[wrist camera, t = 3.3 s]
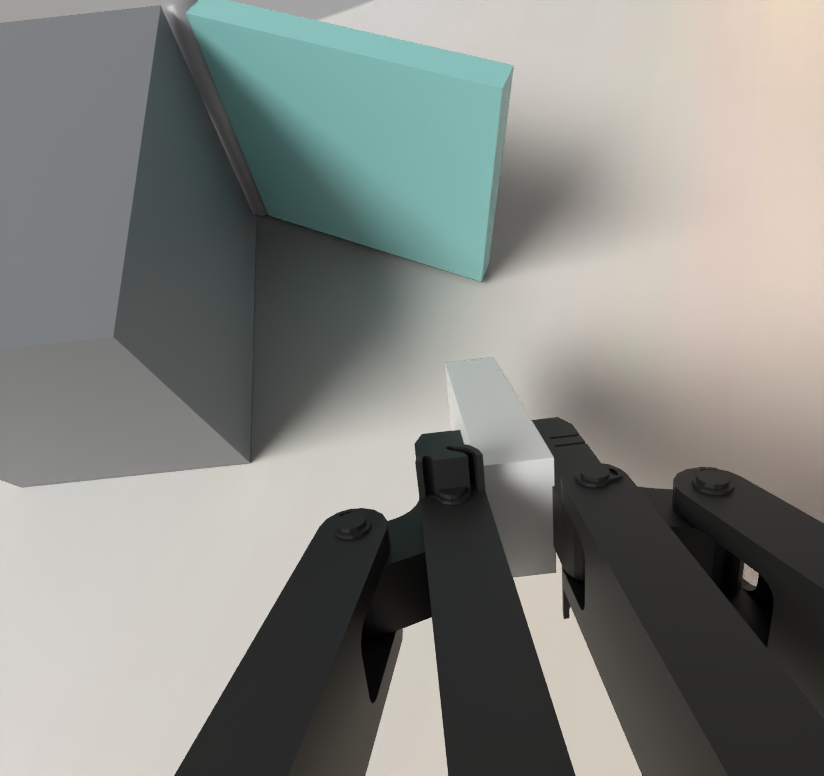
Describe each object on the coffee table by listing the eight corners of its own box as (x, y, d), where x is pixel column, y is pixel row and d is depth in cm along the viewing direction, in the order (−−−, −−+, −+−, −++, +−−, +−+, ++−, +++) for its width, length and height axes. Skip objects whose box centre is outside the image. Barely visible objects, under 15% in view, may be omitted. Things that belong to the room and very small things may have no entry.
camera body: (257, 189, 28) (154, -61, 18) (250, 463, 22) (93, 318, 12) (75, 209, 28) (-127, -29, 18) (21, 487, 22) (-322, 362, 12)
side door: (246, 211, 27) (151, 4, 18) (267, 179, 28) (186, -34, 19) (480, 285, 24) (501, 87, 16) (496, 248, 25) (524, 40, 16)
